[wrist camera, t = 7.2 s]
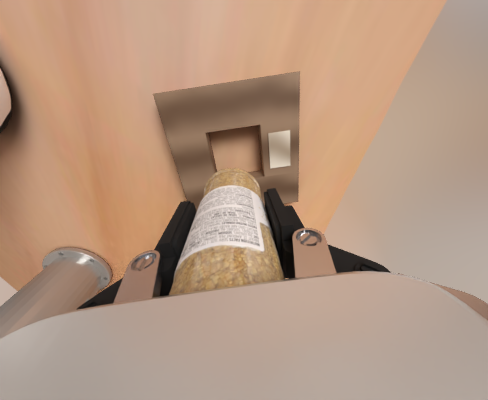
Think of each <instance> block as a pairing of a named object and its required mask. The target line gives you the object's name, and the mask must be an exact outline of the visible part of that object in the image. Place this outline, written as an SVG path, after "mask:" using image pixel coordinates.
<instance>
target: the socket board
mask: <svg viewBox="0 0 488 400" xmlns="http://www.w3.org/2000/svg"><path fill="white" fill-rule="evenodd" d="M153 96H154V99H155V102H156V105H157V108H158V111H159V115H160V118H161V121H162V124H163V127H164V130H165V133H166V136H167V139H168V142H169V146H170V149H171V152H172V155H173V158H174V161H175V164H176V167H177V170H178V174H179V177H180V180H181V183H182V186H183V189H184V192H185V195H186V198H187V201H190V202H191V203H194V205H195V208H196V211H197V210H198V207H199V205H200V202H201V201H202V199H203V196H204V188H205V185H206V183H207V181H208V180H209V178H210V177H211V176H212V175H214V174H215V173H216V172H217V169H216V164H215V160H214V155H213V150H212V146H211V141H210V136H209V132H214V131H221V130H227V129H234V128H241V127H248V126H254V125H258V131H259V142H260V154H261V165H262V171H255V172H248V173H249V174H250V175H252V176H253V177H254V178H255V180H256V181H257V182H258V184H259V187H260V191H261V199H262V202H263V203H264V206H265V202H264V192H266V191H267V189H271V188H276V190H277V192H278V194H279V196H280V198H281V200H282V202H283V204H285V203H292V202H298V178H299V100H300V71H299V72H293V73H286V74H279V75H273V76H266V77H260V78H253V79H247V80H240V81H234V82H227V83H221V84H214V85H208V86H201V87H195V88H188V89H182V90H175V91H169V92H162V93H155V94H153Z"/></svg>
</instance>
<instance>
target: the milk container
mask: <svg viewBox="0 0 488 400" xmlns="http://www.w3.org/2000/svg"><path fill="white" fill-rule="evenodd" d="M11 115H12V96H11V92H10V88H9V85H8V83H7V80H6V77H5V75H4V72H3V70H2V68H1V66H0V133H1V132H2V131H3V130H4V129H5V127H6V126H7V124H8V122H9V121H10V118H11Z"/></svg>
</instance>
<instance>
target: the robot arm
mask: <svg viewBox="0 0 488 400" xmlns="http://www.w3.org/2000/svg"><path fill="white" fill-rule="evenodd" d="M264 202H265V209H266V212H267V215H268V218H269V222H270V225H271V228H272V232H273V235H274V242H275V245H276V249H277V252H278V256H279V260H280V264H281V268H282V271H283V275H284V278H289V279H283V280H276V281H268V282H261V283H253V284H246V285H238V286H231V287H224V288H217V289H209V290H202V291H195V292H188V293H181V294H174V295H169V293H170V290H171V288H172V284H173V281H174V274H175V271H176V268H177V265H178V262H179V259H180V257H181V254H182V251H183V248H184V246H185V243H186V240H187V237H188V234H189V232H190V229H191V226H192V223H193V221H194V218H195V215H196V213H197V211H196V208H195V205H194V203H191V202H190V201H185V202H181V203H180V204H179V206H178V208H177V210H176V211H175V213H174V215H173V217H172V219H171V221H170V222H169V224H168V226H167V228H166V230H165V231H164V233H163V235H162V237H161V239H160V240H159V242H158V244H157V246H156V248H155V250H150V251H146V252H143V253H141V254H139V255H137V256H136V257H135V258H134V259H133V260H132V261H131V262H130V263H129V265H128V267H127V269H126V272H125V274H124V277H123V278H122V279H120V280H119V281H117V282H116V283H114V284H113V285H111V286H109V287H108V288H106V289H105V290H103V291H102V292H100V293H99V294H97V292H98V291H99V290H101V289H103V288H104V287H106V286H107V285H108V283H109V282H110V280H111V278H112V271H111V269H110V267H109V265H108V264H107V263H106V262H105V261H104V260H103V259H102V258H100V257H99V256H97V255H96V254H94V253H92V252H89V251H87V250H83V249H79V248H71V247H65V248H59V249H55V250H53V251H51V252H50V253H49V254H48V255H46V257H45V258H44V259H43V262H42V266H43V270H42V271H41V272H40V273H39V274H38V275H36V276H35V277H34V278H33V279H32V280H31V281H30V282H28V283H27V284H26V285H25V286H24V287H23V288H21V289H20V290H19V291H18V292H17V293H16V294H14V295H13V296H12V297H11V298H10V299H9V300H8V301H6V302H5V303H4V304H3V305H2V306H1V307H0V400H488V304H487V303H485V302H484V301H482V300H481V299H479V298H477V297H475V296H473V295H470V294H468V293H465V292H462V291H458V290H455V289H451V288H448V287H445V286H441V285H438V284H434V283H431V282H427V281H425V280H421V279H418V278H414V277H410V276H406V275H403V274H399V273H398V274H394V273H391V272H390V271H389V270H388V269H386V268H385V267H384V266H382V265H380V264H378V263H376V262H373V261H371V260H368V259H365V258H363V257H360V256H357V255H354V254H352V253H349V252H347V251H344V250H341V249H338V248H336V247H333V246H330V245H328V244H327V242H326V239H325V236H324V235H323V234H322V233H321V232H320V231H318V230H316V229H312V228H304V226H303V224H302V222H301V221H300V219H299V217H298V215H297V214H296V212H295V210H294V208H293V207H292V206H284V204H283V202H282V200H281V198H280V196H279V194H278V192H277V190H276V188H271V189H267V191H266V192H264ZM96 294H97V295H96Z"/></svg>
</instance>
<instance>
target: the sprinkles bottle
mask: <svg viewBox="0 0 488 400" xmlns="http://www.w3.org/2000/svg"><path fill="white" fill-rule="evenodd" d="M283 279H285V278H284V275H283V271H282V268H281V264H280V260H279V256H278V252H277V249H276V245H275V242H274V235H273V232H272V228H271V225H270V222H269V218H268V215H267V212H266V209H265V206H264V203H263V202H262V199H261V191H260V187H259V184H258V182H257V181H256V180H255V178H254V177H253V176H252V175H250V174H249V173H247V172H245V171H244V170H241V169H238V168H228V169H223V170H220V171H218V172H216V173H215V174H214V175H212V176H211V177H210V178H209V180H208V181H207V183H206V185H205V188H204V196H203V199H202V201H201V202H200V205H199V207H198V210H197V213H196V215H195V218H194V221H193V223H192V226H191V229H190V232H189V234H188V237H187V240H186V243H185V246H184V248H183V251H182V254H181V257H180V259H179V262H178V265H177V268H176V271H175V274H174V281H173V284H172V288H171V290H170V293H169V295H174V294H181V293H188V292H195V291H202V290H209V289H217V288H224V287H231V286H238V285H246V284H253V283H261V282H268V281H276V280H283Z"/></svg>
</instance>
